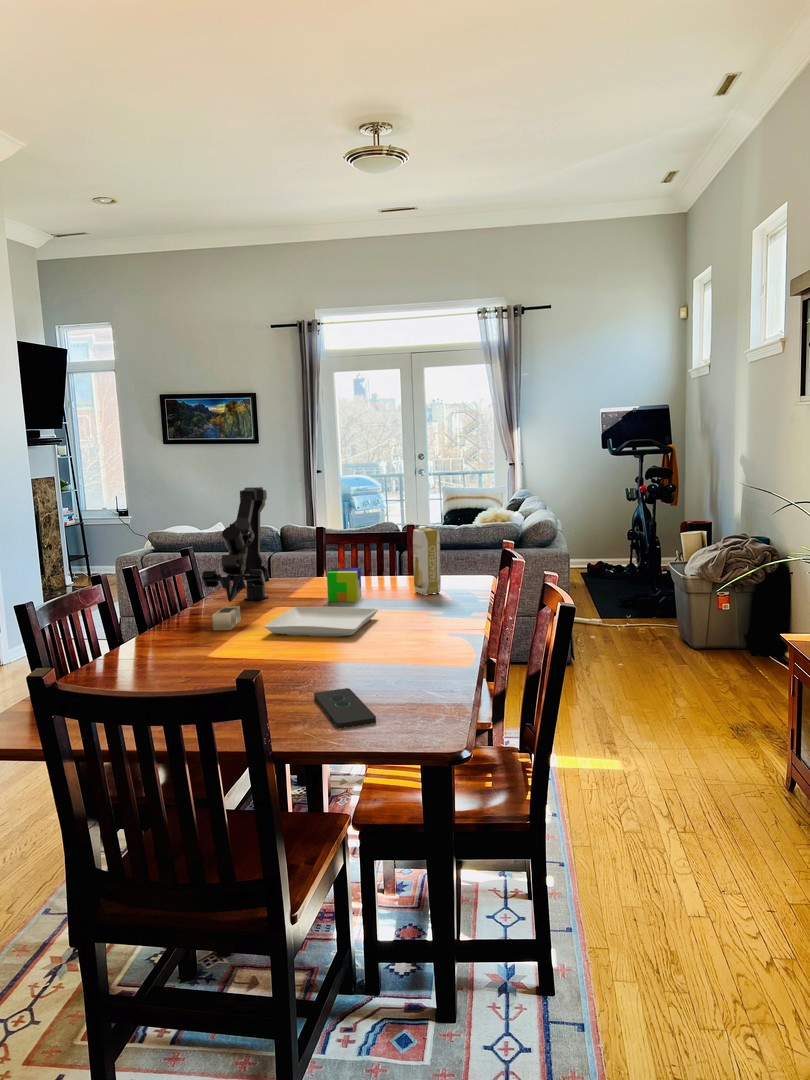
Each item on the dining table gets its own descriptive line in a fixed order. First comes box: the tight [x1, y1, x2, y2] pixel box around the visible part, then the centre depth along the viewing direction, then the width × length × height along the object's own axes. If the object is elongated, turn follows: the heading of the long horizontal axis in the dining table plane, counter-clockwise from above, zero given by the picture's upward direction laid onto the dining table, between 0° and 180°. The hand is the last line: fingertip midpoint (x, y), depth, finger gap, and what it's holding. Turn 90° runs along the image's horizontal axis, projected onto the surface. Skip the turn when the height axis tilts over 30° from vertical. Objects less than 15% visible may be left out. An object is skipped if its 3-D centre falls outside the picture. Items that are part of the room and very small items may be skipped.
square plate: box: [263, 606, 379, 637], centre depth 232 cm, size 27×27×4 cm
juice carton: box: [412, 525, 442, 596], centre depth 277 cm, size 9×8×24 cm
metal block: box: [212, 605, 242, 631], centre depth 237 cm, size 5×5×12 cm
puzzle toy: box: [326, 567, 362, 602], centre depth 273 cm, size 10×10×10 cm
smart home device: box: [313, 687, 377, 729], centre depth 161 cm, size 8×2×20 cm
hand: (229, 600), depth 240 cm, fingers closed
